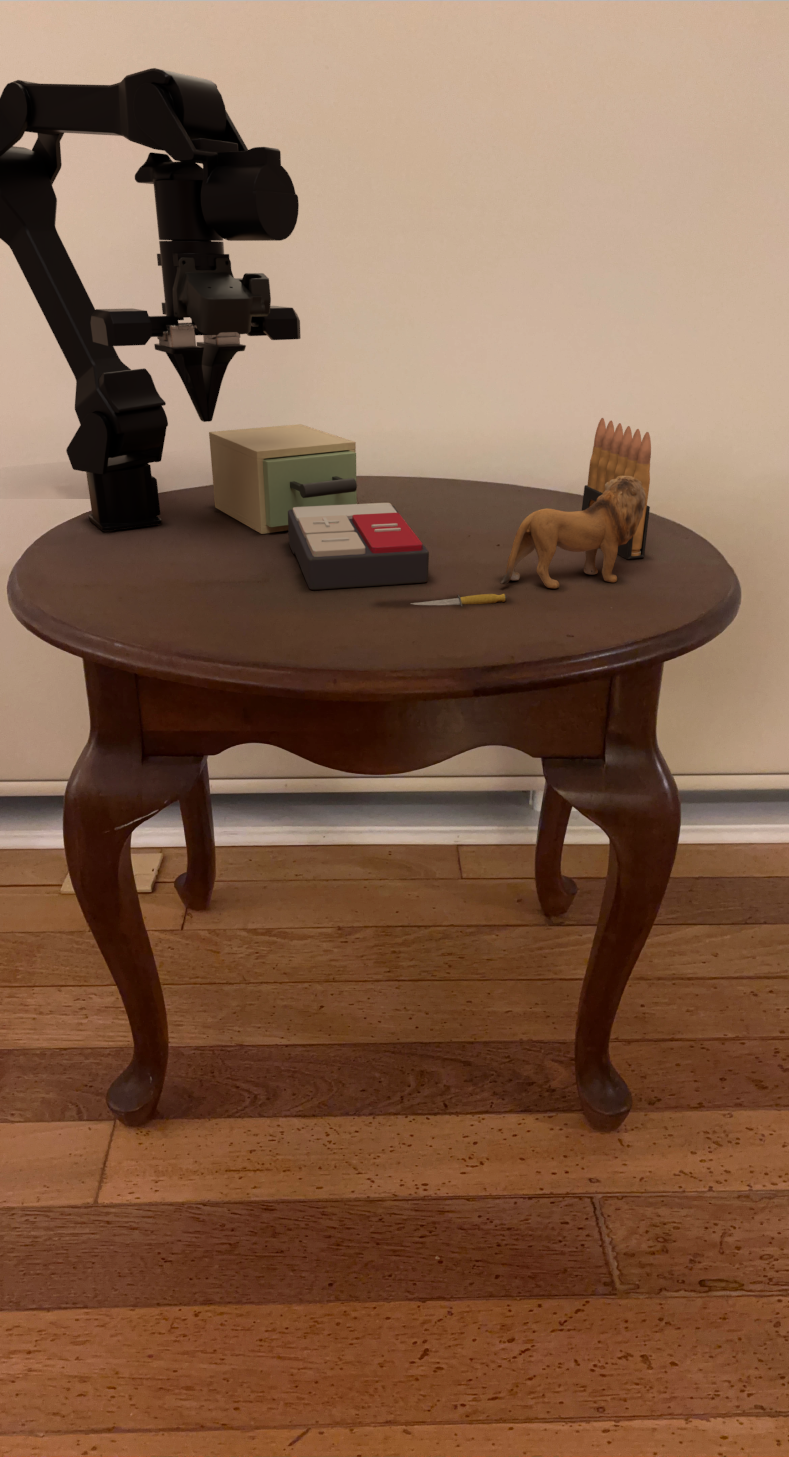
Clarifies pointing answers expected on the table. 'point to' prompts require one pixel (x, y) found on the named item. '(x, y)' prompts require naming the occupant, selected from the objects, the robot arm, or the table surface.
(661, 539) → the table surface
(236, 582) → the table surface
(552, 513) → the lion figurine
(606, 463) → the ammunition clip
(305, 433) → the cabinet
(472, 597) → the dagger
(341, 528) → the calculator
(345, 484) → the drawer
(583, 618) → the table surface
